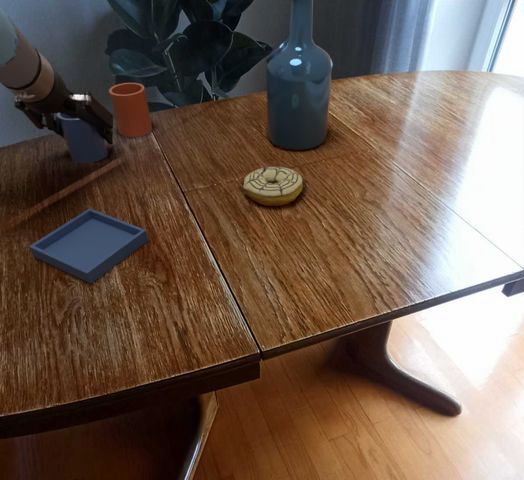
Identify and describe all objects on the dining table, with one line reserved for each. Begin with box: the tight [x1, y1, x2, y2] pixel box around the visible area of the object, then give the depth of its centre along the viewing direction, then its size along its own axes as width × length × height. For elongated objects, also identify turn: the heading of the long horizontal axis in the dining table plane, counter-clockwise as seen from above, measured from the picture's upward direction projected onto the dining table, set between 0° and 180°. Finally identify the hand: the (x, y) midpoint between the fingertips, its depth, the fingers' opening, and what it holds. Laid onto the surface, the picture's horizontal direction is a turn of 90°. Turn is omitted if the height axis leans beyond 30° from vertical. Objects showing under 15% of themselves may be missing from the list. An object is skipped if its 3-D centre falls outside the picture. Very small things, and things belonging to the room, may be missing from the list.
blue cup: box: [56, 113, 109, 169], centre depth 94 cm, size 7×7×10 cm
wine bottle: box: [265, 0, 334, 151], centre depth 92 cm, size 14×13×30 cm
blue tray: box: [28, 207, 149, 285], centre depth 76 cm, size 13×13×2 cm
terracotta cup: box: [108, 82, 153, 143], centre depth 102 cm, size 7×7×10 cm
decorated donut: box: [242, 166, 303, 207], centre depth 86 cm, size 10×11×4 cm
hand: (91, 137), depth 97 cm, fingers closed on blue cup, 7 cm apart
